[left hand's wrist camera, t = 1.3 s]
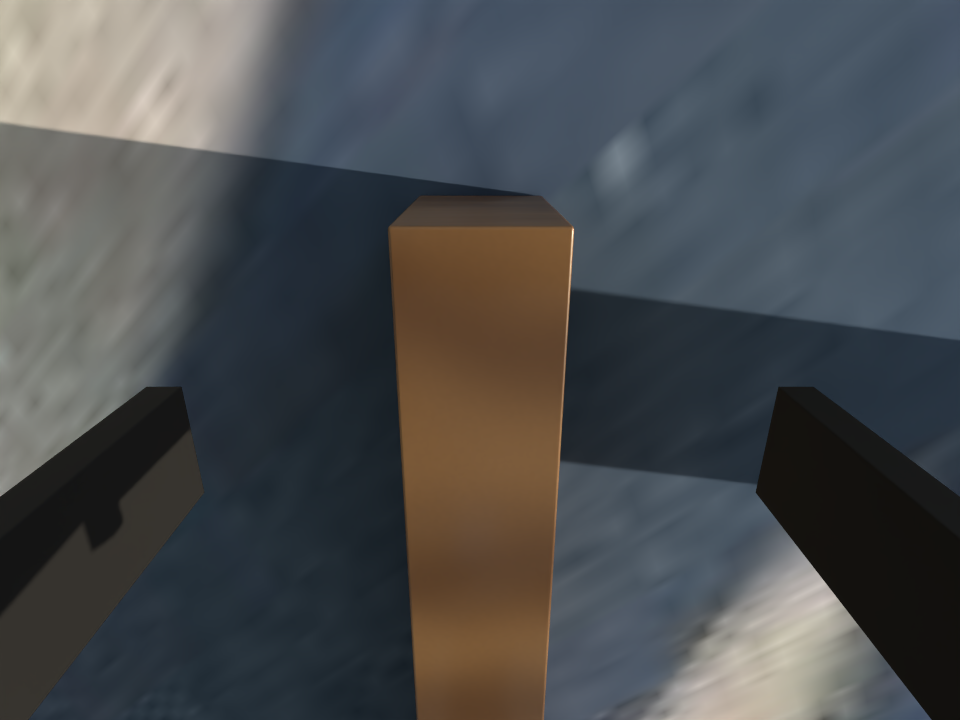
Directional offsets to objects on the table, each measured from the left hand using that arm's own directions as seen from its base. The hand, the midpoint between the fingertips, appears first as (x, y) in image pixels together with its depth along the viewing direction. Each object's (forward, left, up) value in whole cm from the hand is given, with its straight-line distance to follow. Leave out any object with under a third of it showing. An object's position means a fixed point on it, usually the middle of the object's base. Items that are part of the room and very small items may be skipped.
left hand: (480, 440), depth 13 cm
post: (+16, +18, -12) cm, 28 cm away
